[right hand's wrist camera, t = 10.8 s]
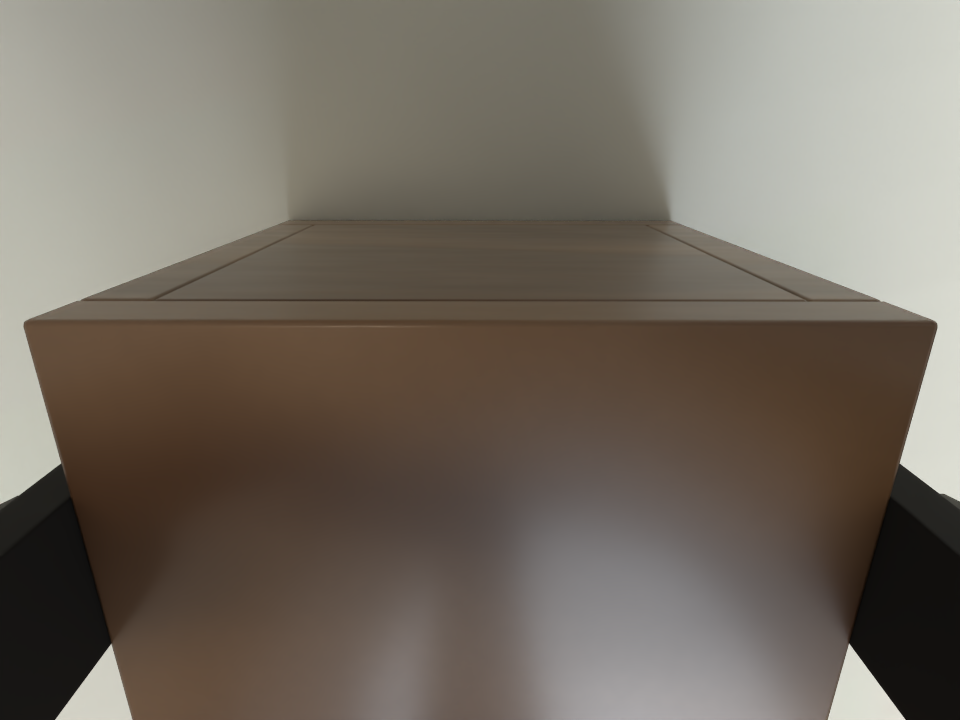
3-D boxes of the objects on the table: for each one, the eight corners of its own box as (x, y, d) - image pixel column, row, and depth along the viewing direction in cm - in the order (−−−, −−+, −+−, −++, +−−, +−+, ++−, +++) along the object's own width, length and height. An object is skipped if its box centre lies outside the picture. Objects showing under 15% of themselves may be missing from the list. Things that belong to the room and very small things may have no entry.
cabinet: (620, 684, 24) (726, 1085, 14) (338, 684, 24) (232, 1085, 14) (672, 220, 18) (942, 321, 7) (287, 220, 18) (18, 320, 7)
